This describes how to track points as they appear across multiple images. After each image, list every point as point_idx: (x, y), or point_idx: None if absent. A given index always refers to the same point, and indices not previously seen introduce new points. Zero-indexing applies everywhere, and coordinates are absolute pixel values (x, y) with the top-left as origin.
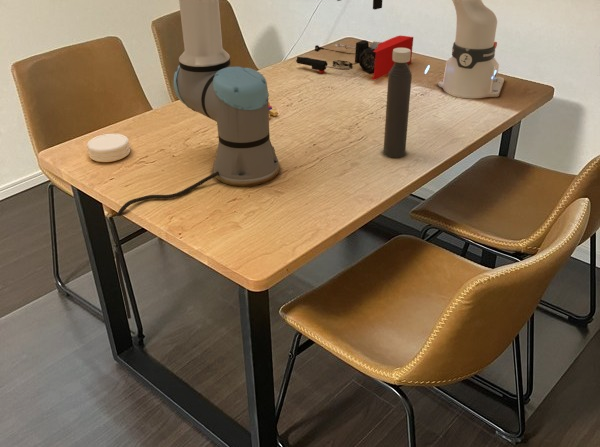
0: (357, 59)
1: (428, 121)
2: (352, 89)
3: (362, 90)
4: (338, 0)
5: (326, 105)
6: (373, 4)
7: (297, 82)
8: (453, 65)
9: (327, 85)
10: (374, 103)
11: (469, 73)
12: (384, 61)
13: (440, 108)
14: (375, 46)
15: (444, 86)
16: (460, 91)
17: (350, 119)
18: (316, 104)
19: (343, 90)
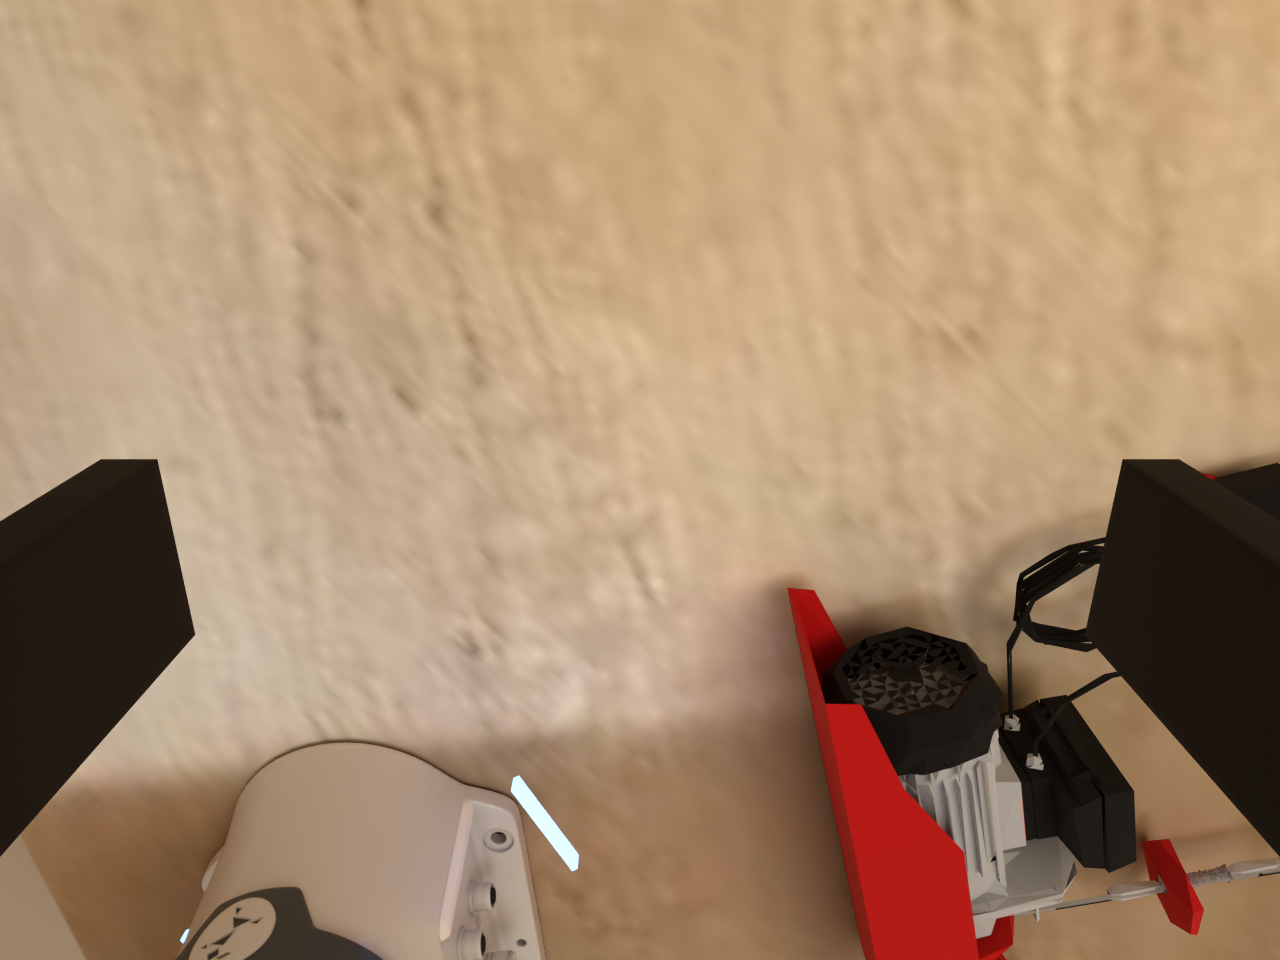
0: (1053, 710)
1: (138, 382)
2: (828, 426)
3: (768, 459)
4: (1131, 461)
5: (751, 78)
6: (88, 493)
7: (1222, 240)
8: (354, 892)
9: (1006, 357)
10: (555, 354)
11: (238, 877)
12: (826, 748)
13: (254, 573)
14: (1029, 872)
15: (441, 788)
16: (301, 773)
17: (447, 20)
18: (817, 33)
19: (860, 371)
